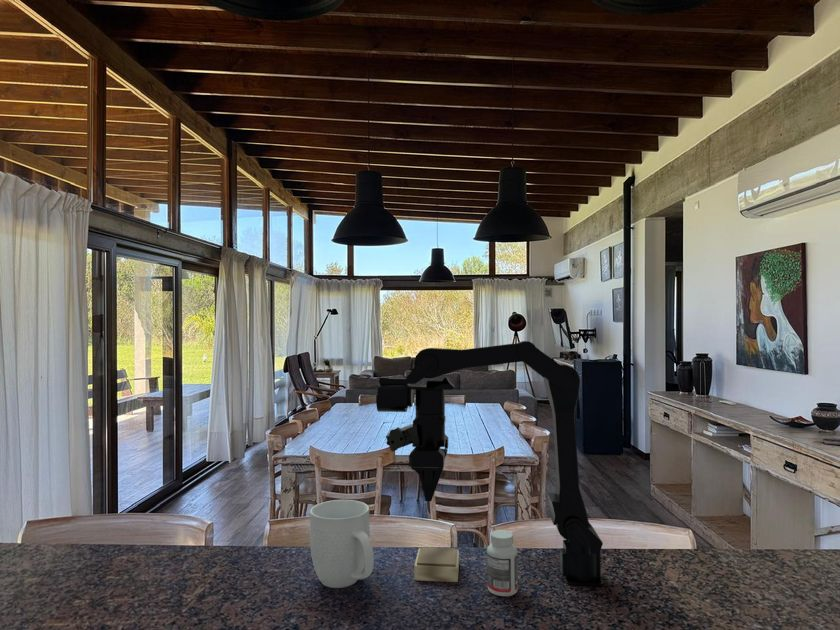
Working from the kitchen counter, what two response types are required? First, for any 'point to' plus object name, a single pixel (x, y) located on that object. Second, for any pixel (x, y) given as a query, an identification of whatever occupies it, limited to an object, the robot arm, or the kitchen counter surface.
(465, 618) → the kitchen counter surface
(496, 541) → the pill bottle
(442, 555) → the plinth
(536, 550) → the kitchen counter surface
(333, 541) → the mug
